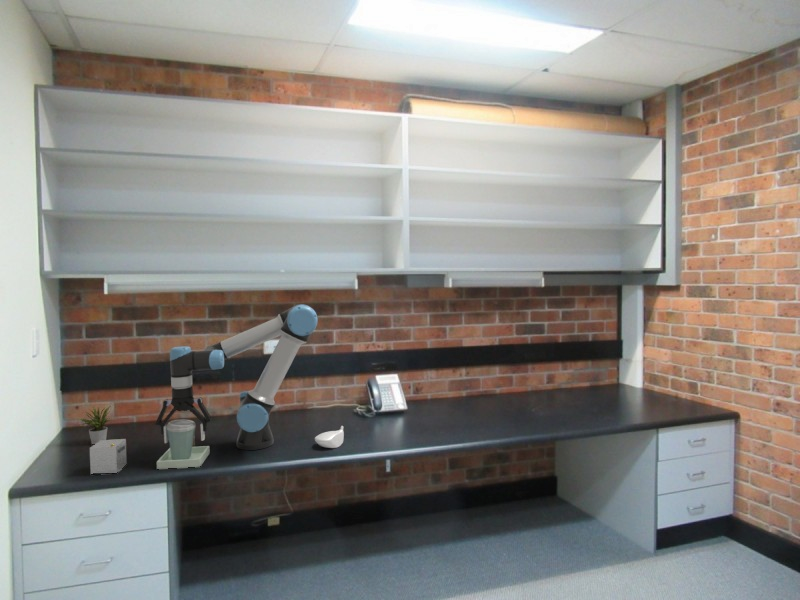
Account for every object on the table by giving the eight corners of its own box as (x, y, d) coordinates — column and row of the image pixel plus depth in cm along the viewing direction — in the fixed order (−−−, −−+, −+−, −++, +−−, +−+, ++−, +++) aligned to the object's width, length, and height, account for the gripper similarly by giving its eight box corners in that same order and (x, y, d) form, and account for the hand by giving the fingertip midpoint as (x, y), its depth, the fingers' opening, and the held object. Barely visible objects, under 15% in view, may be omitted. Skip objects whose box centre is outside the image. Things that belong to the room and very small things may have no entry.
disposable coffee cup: (188, 452, 208) (188, 415, 207) (201, 459, 201) (201, 421, 200) (161, 459, 201) (161, 421, 200) (173, 466, 193) (173, 427, 192)
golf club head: (350, 425, 219) (325, 418, 213) (345, 451, 214) (320, 444, 209) (339, 427, 227) (314, 420, 221) (334, 452, 222) (309, 446, 217)
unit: (127, 464, 198) (126, 437, 197) (117, 473, 189) (116, 445, 188) (100, 466, 197) (99, 439, 196) (89, 475, 188) (88, 446, 187)
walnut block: (194, 446, 219) (194, 434, 219) (195, 449, 214) (194, 438, 214) (181, 447, 217) (181, 436, 217) (181, 451, 212) (181, 439, 212)
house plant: (98, 436, 233) (96, 400, 233) (125, 437, 231) (124, 401, 230) (72, 446, 219) (71, 408, 219) (101, 448, 217) (99, 410, 216)
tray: (209, 453, 210) (209, 445, 209) (200, 467, 194) (199, 459, 194) (169, 455, 208) (169, 448, 208) (156, 469, 192) (156, 461, 192)
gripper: (217, 382, 205) (220, 435, 206) (151, 386, 202) (154, 440, 203) (213, 387, 197) (216, 441, 199) (144, 390, 194) (147, 446, 195)
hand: (184, 440), depth 201 cm, fingers open, 13 cm apart
